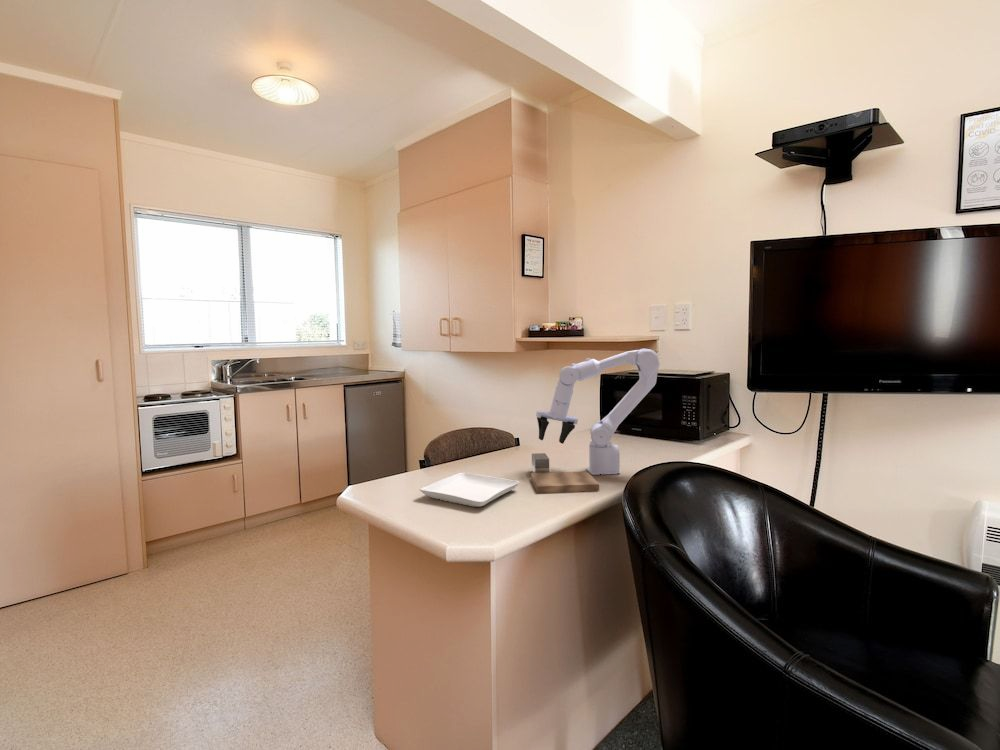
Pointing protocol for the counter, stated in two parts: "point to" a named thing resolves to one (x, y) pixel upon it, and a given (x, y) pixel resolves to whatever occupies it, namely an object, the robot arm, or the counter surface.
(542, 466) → the housing
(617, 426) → the robot arm
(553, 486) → the walnut board
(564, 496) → the counter surface
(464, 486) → the salad plate
